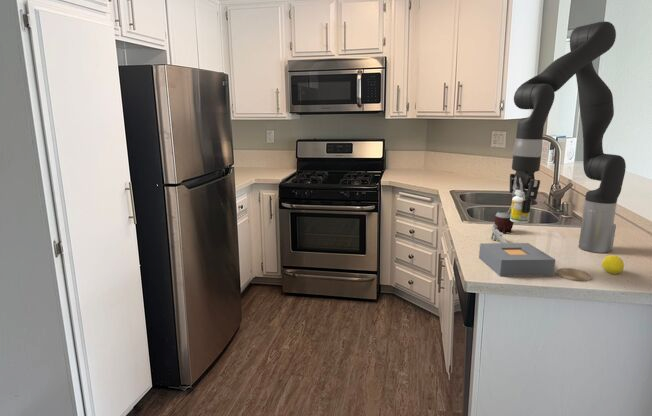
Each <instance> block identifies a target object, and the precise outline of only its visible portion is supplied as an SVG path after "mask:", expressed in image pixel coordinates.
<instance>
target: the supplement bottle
mask: <svg viewBox="0 0 652 416" xmlns="http://www.w3.org/2000/svg"><path fill="white" fill-rule="evenodd" d="M515 194H516V196H515V197H513V196H512V199H511V205H512V206H511V205H510V207H511V210H510V212H511V214H510V220H511V221H512V222H514V223H516V224H528V223H529V222H530V217H531V216H530V215H531V211H530V212H529V213H522V212H521V211H522V202H523V194H522V193H521V190H520V189H518V190H516V192H515ZM526 196H527V193H526ZM531 208H532V205H531V206H530V210H531Z"/></svg>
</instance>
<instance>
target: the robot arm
mask: <svg viewBox="0 0 652 416" xmlns="http://www.w3.org/2000/svg"><path fill="white" fill-rule="evenodd" d="M616 38H617V30H616V27H615V25H614V24H613V23H612V22H611V21H607V20H606V21H598V22H594V23H593V22H592V23H589V24H585V25H581V26H577V27H575V28H574V29H572V32H571V33H570V37H569V50H570V51H569V52H567V53H565V54H564V55H562V56H560V57H558V58H557V59H555V60H554V61H553V62H551V63H550V64H549V65H548V66H547V67H546V68H545V69H544V70H543V71H542V72H540V73H539V74H537V75H535V76H533V77H531V78H530V79H528V80H526V81H525V82H524V83H522V84H520V86H519V87H518V88H517V89H516V91H515V92H514V96H513V103H514V105H515V106H516V107H517V108H518V109H520V110H532V112H531V114H530V115H529V116H527V117H522V118H520V119H519V120H518V122H517V126H516V134H515V141H514V146H513V153H512V162H511V170H512V171H515V173H510V174H509V193H510V194H511V196H512V198H513V197H515V196H516V194H515V192H516V190H518V189H520V190H521V193H522V194H523V202H522V211H521V212H522V213H529V212H530V213H531V209H530V206H531V207H532V201H534V200H537V198H538V194H539V193H538V192H539V188H540V186H541V185H540V184H541V180H539V179H535V173H536V172H539V171H540V169H541V162H542V161H541V159H542V152H543V137H544V135H543V134H544V127H545V123H546V121H547V118H548V116H549V114H550V111H551V109H552V107H553V104H554V102H555V95H556V94H555V93H556V92H557V91H559V90H560V89H561V88H562V87H563V86H564V85H566V84H567V82H569V80H570V79H572V77H573V76H575V78H576V83H577V84H576V85H577V86H576V87H577V91H578V105H579V112H580V120H581V128H582V138H583V139H582V141H583V142H582V143H583V144H582V146H583V149H582V150H583V153H582V155H583V157H582V158H583V159H582V161H583V164H582V165H583V171H584V174H585V177H586V178H588V179H590V180H593V181H599V182H600V184H599V186H598V188H595V189H593V190H591V189H590V190H588V191H587V192H586V193H585V198H584V206H583V212H582V219H581V226H580V227H581V228H580V233H579V241H578V248H579V249H581V250H583V251H587V252H591V253H599V254H600V253H603V254H604V253H609V252H613V247H614V243H615V242H614V240H615V236H616V235H615V234H616V227H617V225H616V224H615V217H616V216H615V215H616V211H617V202H618V200H619V199H618V198H619V197H620V194H621V192H622V189H623V183H624V179H625V174H626V168H627V166H626V165H627V164H626V160H625V158H624V157H623V156H621V155H618V154H613V153H612V154H610V153H604V148H603V140H604V135H605V133H606V131H607V130H608V128H609V126H610V124H611V123H612V122H613V121H612V120H613V118H614V114H615V110H614V109H615V107H614V97H613V92H612V90H611V89H610V87H609V86H608V85H607V84H606V83H605V81H604V80H603V79H602V78H601V76H600V75H599V74H598V73H597V71H596V69H595V67H594V64H593V61H594V60H596V59H598V58H599V57H601V56H602V55H604V54H606V53H607V52H608V51H609V50H610V49H612V47H613V46H614V44H615V42H616ZM526 193H527V196H526Z"/></svg>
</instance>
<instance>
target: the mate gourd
mask: <svg viewBox="0 0 652 416" xmlns="http://www.w3.org/2000/svg"><path fill="white" fill-rule="evenodd" d="M511 206H512V204H511V205H510V207H509V209H508V211H507V210H504V211H503V210H501V211H500V210H499V211H497V212H496V214H495V216H494V225H496V226H498V227H497V229H498V230H499V232H500V233H501V234H502V235H506V232H509V234H510V233H512V228H513V227H514V223H515V222H512V221H511V220H510V214H511Z"/></svg>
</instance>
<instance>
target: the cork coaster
mask: <svg viewBox="0 0 652 416" xmlns="http://www.w3.org/2000/svg"><path fill="white" fill-rule="evenodd" d="M555 274H556V275H557V276H559V277H560V278H562V279H565V280H568V281H573V282H574V281H575V282H588V281H590V279H591V280H592V274H590V273H588V272H586V271H584V270H582V269H576V268H572V267H569V268H568V267H561V268H558V269H556V270H555Z"/></svg>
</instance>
